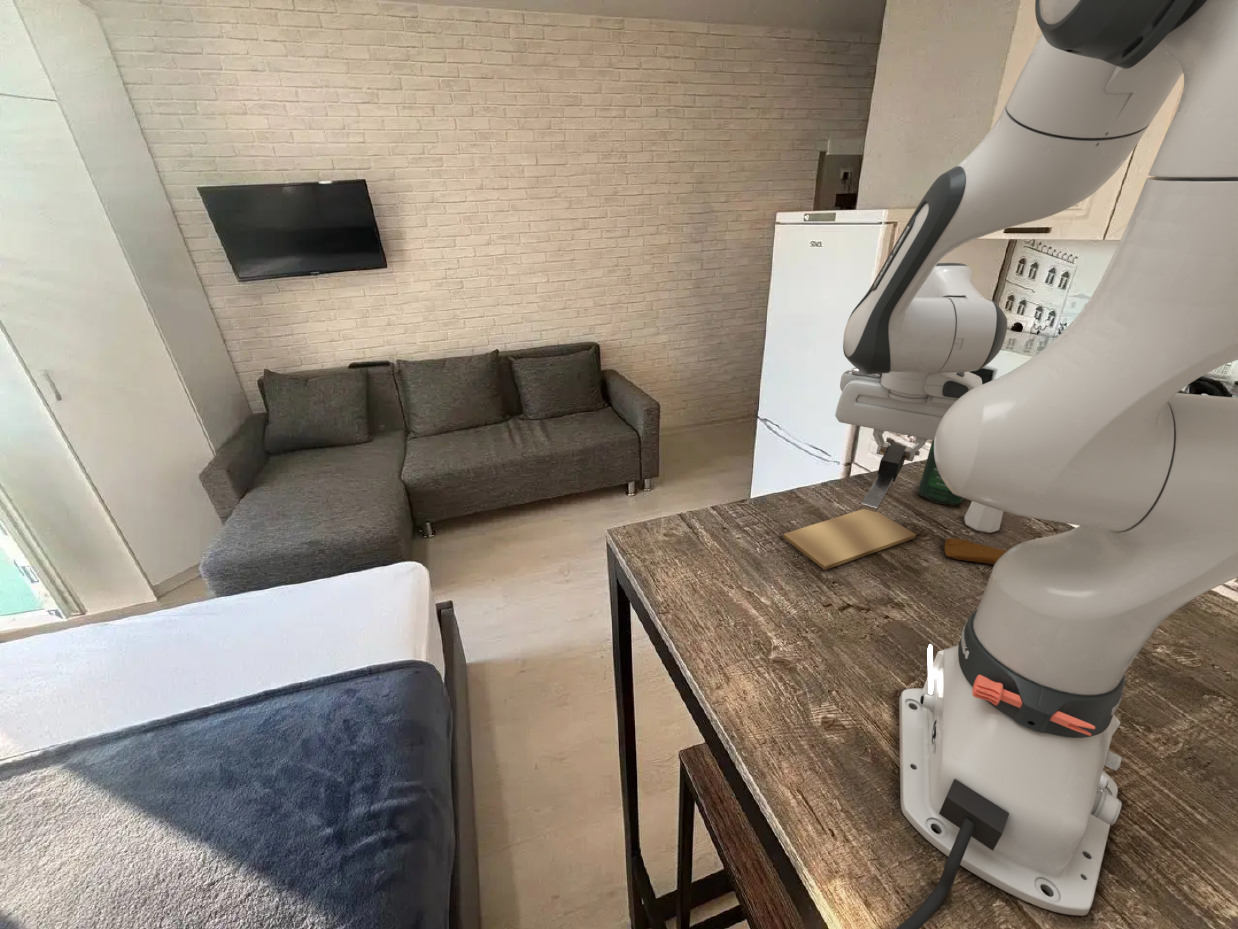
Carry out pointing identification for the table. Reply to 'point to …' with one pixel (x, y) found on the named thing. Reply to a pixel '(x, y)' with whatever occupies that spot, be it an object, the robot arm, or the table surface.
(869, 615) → the table surface
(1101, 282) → the robot arm
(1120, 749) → the table surface
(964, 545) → the primitive tool
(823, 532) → the cutting board
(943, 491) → the coffee jar
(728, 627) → the table surface
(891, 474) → the knife
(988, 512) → the pepper shaker
